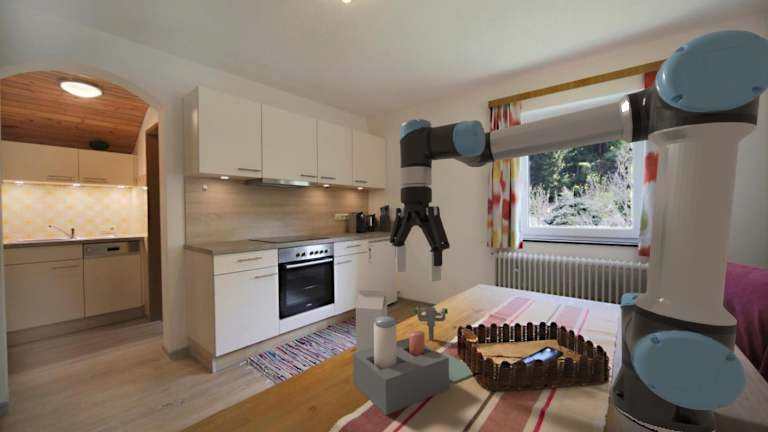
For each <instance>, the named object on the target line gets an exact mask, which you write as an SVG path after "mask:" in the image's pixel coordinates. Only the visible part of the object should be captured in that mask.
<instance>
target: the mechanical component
mask: <svg viewBox="0 0 768 432" xmlns="http://www.w3.org/2000/svg"><path fill="white" fill-rule="evenodd" d="M413 313H414V315H417V318H418V321H420V322H426V323H427V324H426V326H427V327H428V341H430V342H431V341H432V342H433V341H434V339H435V337H434V335H435V334H434V332H435V331H434V329H435V328H434V327H436V322H445V320H446V314H447V315H448V308H446V307H441V310H440V311H437V309H436V307H435V306H416V308H414V312H413ZM422 313H424V314H422ZM438 316H439V317H438Z"/></svg>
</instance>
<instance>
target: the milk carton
mask: <svg viewBox="0 0 768 432" xmlns="http://www.w3.org/2000/svg"><path fill="white" fill-rule="evenodd" d="M358 290H359V291H358V292H359V293H358V296H357V301H356V305H355V342H356V343H355V346H356V347H355V351H356V352H360V351H363V350H367V349H371V348H374V323H375V319H376V318H378V317H384V316H387V317H388V300H387V297H386V291H385V290H383V289H382V290H380V289H358ZM356 352H355V353H356Z"/></svg>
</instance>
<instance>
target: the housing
mask: <svg viewBox="0 0 768 432" xmlns="http://www.w3.org/2000/svg"><path fill="white" fill-rule="evenodd" d="M396 345H397V365H395V366H392V367H389V368H386V369H383V370H380V369H379V368H377V367H376V366H375V365H374V348H371V349H367V350H363V351H360V352H353V353H352V380H353V383H352V384H354V386H355V387H356V388H357V389H358V390H359V391H361V393H363V395H364V396H366V398H367V399H368V400H370V401H371V402H372V404H373V405H374V406H375V407H377V408H378V409H379V411H381V412H382V413H383V415H385V416H389V415H391V414H393V413H396V412H399V411H400V410H402V409H405V408H408V407H409V406H411V405H414V404H416V403H420V402H421V401H423V400H426V399H428V398H430V397H432V396H436V395H437V394H440V393H443V392H444V391H447V390H449V389H450V381H449V357H447V356H445V355H443V354H444V353H441V352H439V351H437V350H435V349H434V348H431V347H429V346H428V345H426V344H425V354H423V355H419V356H416V357H415V356H413V355H412V354H410V353H409V337H408V338H402V339H400V340H396Z"/></svg>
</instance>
